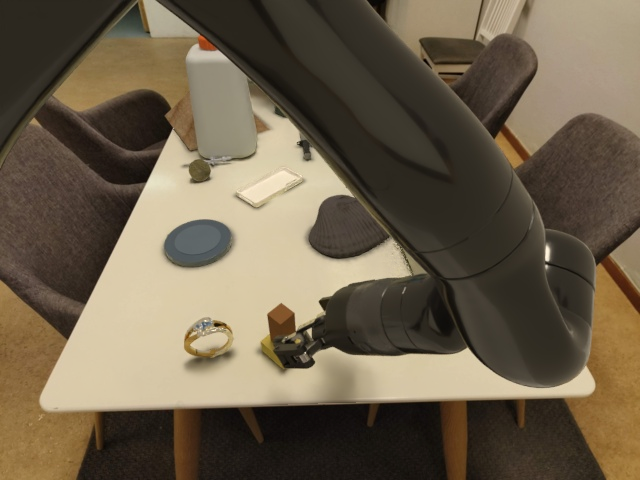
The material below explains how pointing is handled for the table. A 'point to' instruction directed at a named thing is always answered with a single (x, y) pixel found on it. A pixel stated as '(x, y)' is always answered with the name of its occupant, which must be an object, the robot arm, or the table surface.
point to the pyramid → (185, 125)
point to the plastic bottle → (219, 104)
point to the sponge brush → (278, 329)
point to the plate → (198, 242)
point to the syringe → (216, 160)
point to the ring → (203, 330)
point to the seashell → (345, 228)
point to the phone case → (269, 186)
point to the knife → (305, 147)
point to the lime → (199, 170)
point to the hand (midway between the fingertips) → (301, 324)
